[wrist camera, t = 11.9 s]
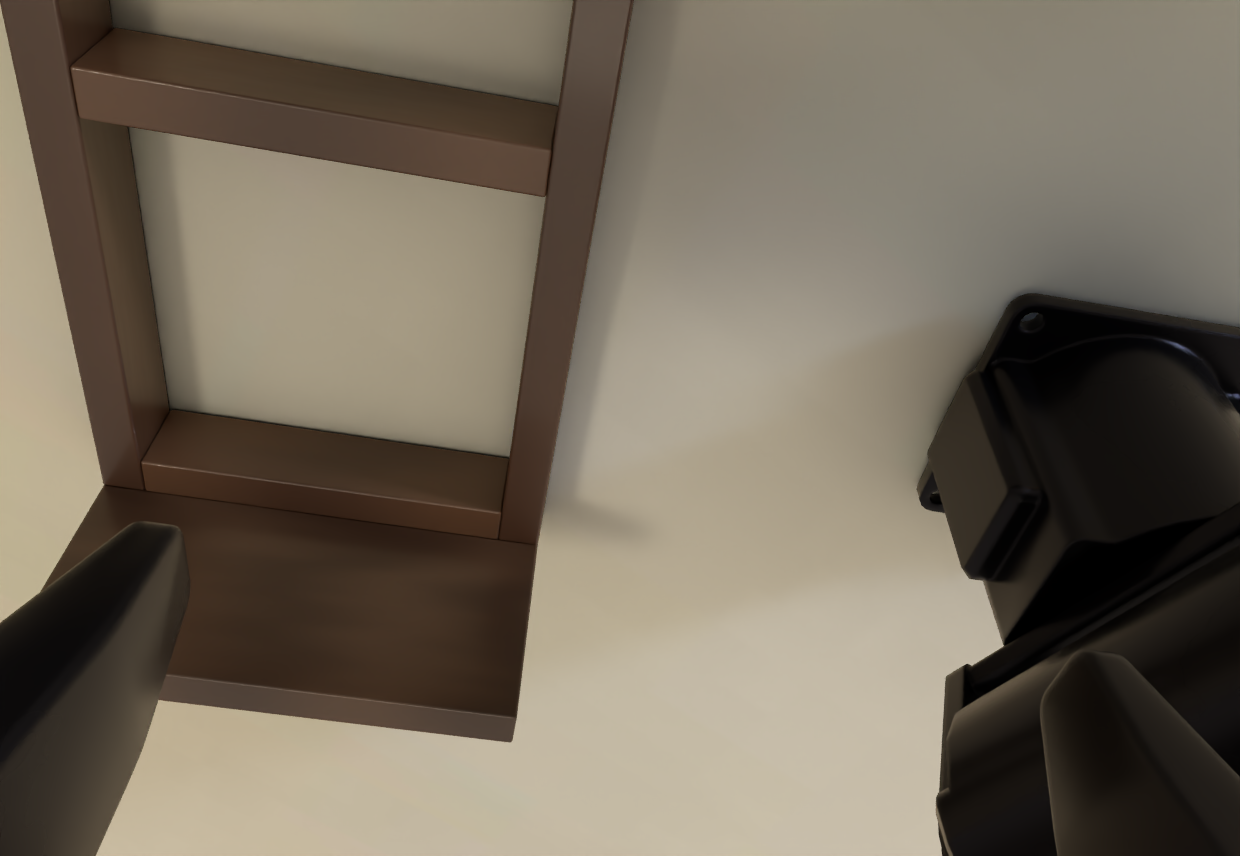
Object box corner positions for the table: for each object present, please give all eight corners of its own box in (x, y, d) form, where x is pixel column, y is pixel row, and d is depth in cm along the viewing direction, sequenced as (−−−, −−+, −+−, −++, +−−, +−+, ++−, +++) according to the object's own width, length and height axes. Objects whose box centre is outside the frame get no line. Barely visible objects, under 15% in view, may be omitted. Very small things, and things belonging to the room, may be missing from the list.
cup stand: (722, -537, 14) (763, -594, 9) (539, 516, 28) (511, 743, 22) (-74, -727, 13) (-565, -921, 8) (139, 460, 27) (11, 683, 22)
